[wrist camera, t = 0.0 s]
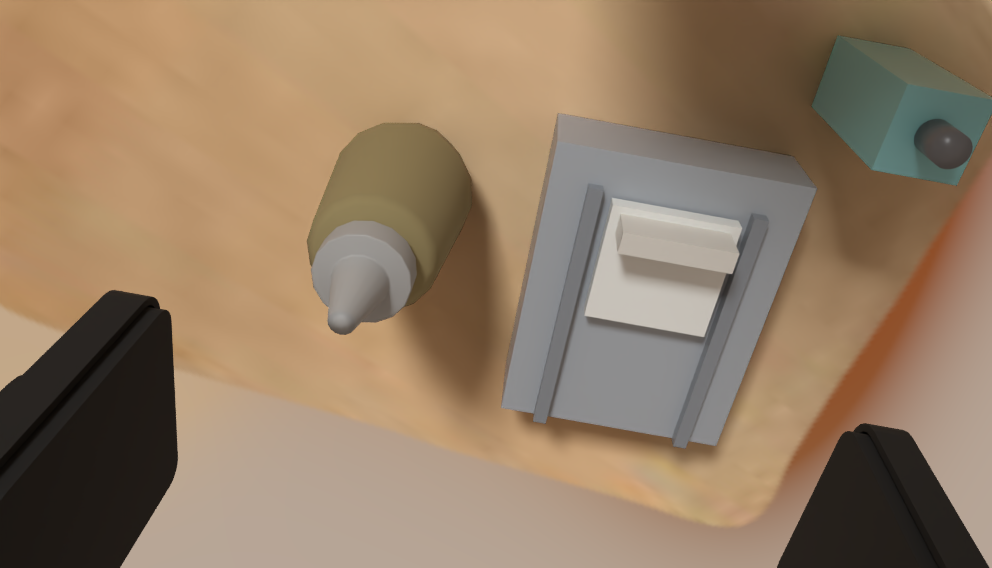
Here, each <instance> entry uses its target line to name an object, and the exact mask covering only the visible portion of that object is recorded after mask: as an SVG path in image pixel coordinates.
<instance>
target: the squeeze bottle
mask: <svg viewBox="0 0 992 568" xmlns="http://www.w3.org/2000/svg"><path fill="white" fill-rule="evenodd" d="M471 206H472V188H471V177H470V175H469V173H468V171H467V169H466V167H465V164H464V162H463V160H462V158H461V156H460V154H459V153H458V151H457V150H456V149H455V148H454V147H453V145H452V144H451V143H450V142H449V141H448V140H446V139H445V138H444V137H443V136H442V135H441V134H440V133H439V132H438V131H437V130H434V129H432V128H429V127H427V126H424V125H422V124H419V123H382V124H380V125H377V126H375V127H373V128H370V129H368V130H365V131H363V132H360V133H358V134H357V135H356V136H355V137H354V138H353V140H352V141H351V142H350V143H349V144H348V145H347V146H346V147H345V148H344V149H343V150H342V151H341V152H340V155H339V157H338V160H337V162H336V165H335V167H334V170H333V172H332V175H331V177H330V180H329V182H328V185H327V187H326V190H325V192H324V195H323V197H322V200H321V202H320V205H319V207H318V210H317V212H316V215H315V217H314V220H313V223H312V226H311V230H310V233H309V236H308V239H307V245H308V252H309V259H310V265H311V266H312V268H311V273H312V280H313V287H314V289H315V290H316V292H317V294H318V295H319V297H320V299H321V300H322V302H323V303H324V304H325V305H326V306H328V307H329V309H328V325H329V327H330V329H331V330H333V331H334V332H335V333H338V334H343V335H346V334H349V333H351V332H352V331H353V330H354V329H355V328H356V327H357V326H358V325H359V324H360V323H361V322H375V323H376V322H379V321H382V320H384V319H387V318H390V317H393V316H394V315H395V314H396V313H397V312H399V311H400V310H401V309H402V308H403V307H405V306H408V305H411V304H414V303H415V302H416V301H417V300H418V299H419V298H420V297H421V296H422V295H424V294H425V293H426V292H427V291H428V290H429V289H430V288H431V286H432V284H433V283H434V281H435V279H436V277H437V275H438V273H439V271H440V269H441V267H442V265H443V264H444V262H445V260H446V258H447V256H448V254H449V252H450V250H451V248H452V246H453V244H454V243H455V241H456V239H457V237H458V235H459V233H460V231H461V229H462V227H463V225H464V222H465V220H466V218H467V215H468V213H469V211H470V208H471Z"/></svg>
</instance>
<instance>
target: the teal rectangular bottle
mask: <svg viewBox="0 0 992 568" xmlns="http://www.w3.org/2000/svg"><path fill="white" fill-rule="evenodd" d="M811 107H812V108H813V109H814V110H815V111H816V112H817V113H818V114H819V115H820V116H821V117H822V118H823V119H824V120H825V121H826V122H827V124H828V125H829V126H830V127H831V128H832V129H833V130H834V131H835V132H836V133H837V134H838V135H839V136H840V137H841V138H842V139H843V140H844V141H845V143H846V144H847V145H848V146H849V147H850V148H851V149H852V150H853V151H854V152H855V153H856V154H857V155H858V156H859V157H860V158H861V159H862V160H863V162H864V163H865V164H866V165H867V166H868V167H869V168H870V169H871V170H875V171H880V172H886V173H891V174H896V175H902V176H907V177H913V178H918V179H924V180H929V181H935V182H940V183H945V184H951V185H956V186H957V184H958V182H959V180H960V178H961V176H962V174H963V172H964V170H965V168H966V166H967V164H968V162H969V160H970V157H971V155H972V153H973V151H974V149H975V147H976V145H977V143H978V141H979V139H980V137H981V135H982V133H983V131H984V129H985V127H986V125H987V123H988V121H989V118H990V116H991V114H992V97H991V96H989V95H987V94H986V93H984V92H982V91H981V90H979V89H977V88H976V87H974V86H972V85H970V84H969V83H967V82H965V81H964V80H962V79H960V78H959V77H957V76H955V75H954V74H952V73H950V72H948V71H947V70H945V69H943V68H942V67H940V66H938V65H937V64H935V63H933V62H931V61H930V60H928V59H926V58H925V57H923V56H921V55H920V54H918V53H916V52H915V51H913V50H911V49H909V48H903V47H898V46H893V45H887V44H882V43H877V42H871V41H866V40H861V39H855V38H850V37H844V36H839V35H838V36H837V39H836V41H835V44H834V47H833V50H832V52H831V55H830V58H829V60H828V63H827V66H826V69H825V71H824V74H823V77H822V79H821V82H820V85H819V87H818V90H817V93H816V96H815V98H814V101H813V104H812V106H811Z"/></svg>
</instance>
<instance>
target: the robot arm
mask: <svg viewBox="0 0 992 568" xmlns="http://www.w3.org/2000/svg"><path fill="white" fill-rule="evenodd" d="M176 431H177V430H176V408H175V388H174V366H173V344H172V323H171V315H170V313H169V312H168V311H167V310H163V309H160V306H159V303H158V301H157V299H156V298H154V297H150V296H145V295H139V294H133V293H128V292H122V291H116V290H111V291H109V292H107V293H106V294H105V295H103V296H102V297H101V298H100V299H99V300H98V301H97V302H96V303H95V304H94V305H93V306H92V307H91V308H90V309H89V310H88V311H87V312H86V313H85V314H84V315H83V316H82V317H81V318H80V319H79V320H78V321H77V322H76V323H75V324H74V325H73V326H72V327H71V328H70V329H69V330H68V331H67V332H66V333H65V334H64V335H63V336H62V337H61V338H60V339H59V340H58V341H57V342H56V343H55V344H54V345H53V346H52V347H51V348H50V349H49V350H48V351H47V352H45V354H44V355H42V356H41V357H40V358H39V359H38V360H37V361H36V362H35V363H34V364H33V365H32V366H31V367H30V368H29V369H28V370H27V371H26V372H25V373H24V374H23V375H21V376H18V377H17V378H16V379H14V380H13V381H11V382H10V383H9V384H8V385H7V386H6V387H5V388H3V389H2V390H1V391H0V568H120V566H121V565H122V563H123V562H124V560H125V558H126V557H127V555H128V554H129V552H130V550H131V548H132V547H133V545H134V544H135V542H136V541H137V539H138V537H139V535H140V534H141V532H142V531H143V529H144V527H145V526H146V524H147V523H148V521H149V519H150V517H151V516H152V514H153V513H154V511H155V509H156V508H157V506H158V505H159V503H160V501H161V500H162V498H163V496H164V495H165V493H166V491H167V489H168V488H169V487H170V484H171V483H172V481H173V478H174V475H175V472H176V468H177V461H178V451H177V432H176ZM777 568H989V566H988V565H987V563H986V561H985V560H984V558H983V556H982V555H981V553H980V551H979V549H978V548H977V546H976V544H975V543H974V541H973V539H972V538H971V536H970V534H969V532H968V531H967V529H966V527H965V526H964V524H963V523H962V521H961V519H960V518H959V516H958V514H957V512H956V511H955V509H954V507H953V506H952V504H951V502H950V500H949V499H948V497H947V495H946V494H945V492H944V490H943V488H942V487H941V485H940V483H939V482H938V480H937V478H936V477H935V475H934V473H933V472H932V470H931V468H930V466H929V465H928V463H927V461H926V460H925V458H924V456H923V455H922V453H921V451H920V450H919V448H918V446H917V444H916V443H915V441H914V439H913V438H912V436H910V434H909V433H908V432H906V431H904V430H899V429H894V428H888V427H882V426H877V425H871V424H866V423H865V424H860V425H859V426H858V427H856V429H855V430H854V431H853V432H850V431H847V432H845V433H843V434H842V436H841V437H840V439H839V440H838V443H837V444H836V447H835V449H834V451H833V453H832V455H831V457H830V459H829V461H828V463H827V465H826V467H825V469H824V471H823V473H822V475H821V477H820V479H819V481H818V483H817V486H816V487H815V490H814V492H813V494H812V496H811V498H810V500H809V502H808V504H807V506H806V508H805V510H804V512H803V514H802V516H801V518H800V520H799V522H798V524H797V526H796V528H795V530H794V532H793V534H792V537H791V539H790V541H789V543H788V545H787V547H786V549H785V551H784V553H783V555H782V557H781V559H780V561H779V564H778V566H777Z"/></svg>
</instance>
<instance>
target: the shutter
mask: <svg viewBox="0 0 992 568" xmlns="http://www.w3.org/2000/svg"><path fill="white" fill-rule="evenodd" d="M741 231H742V227H741V225H740V223H739V221H737V220H732V219H726V218H721V217H715V216H710V215H704V214H699V213H693V212H688V211H683V210H677V209H672V208H666V207H661V206H655V205H650V204H644V203H639V202H633V201H628V200H622V199H617V198H612V199H611V203H610V207H609V211H608V215H607V219H606V223H605V226H604V230H603V234H602V238H601V242H600V246H599V250H598V254H597V258H596V262H595V265H594V269H593V273H592V277H591V281H590V285H589V289H588V293H587V297H586V300H585V304H584V316H589V317H595V318H600V319H606V320H611V321H617V322H623V323H628V324H634V325H639V326H645V327H650V328H656V329H662V330H667V331H673V332H678V333H684V334H689V335H695V336H700V337H704V336H705V333H706V330H707V327H708V324H709V321H710V319H711V316H712V313H713V310H714V307H715V304H716V302H717V299H718V296H719V293H720V290H721V287H722V285H723V282H724V279H725V276H726V273H728V274H732V273H733V271H734V268H735V265H736V262H737V259H738V257H739V251H738V249H737V247H736V245H737V242H738V239H739V236H740V234H741Z"/></svg>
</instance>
